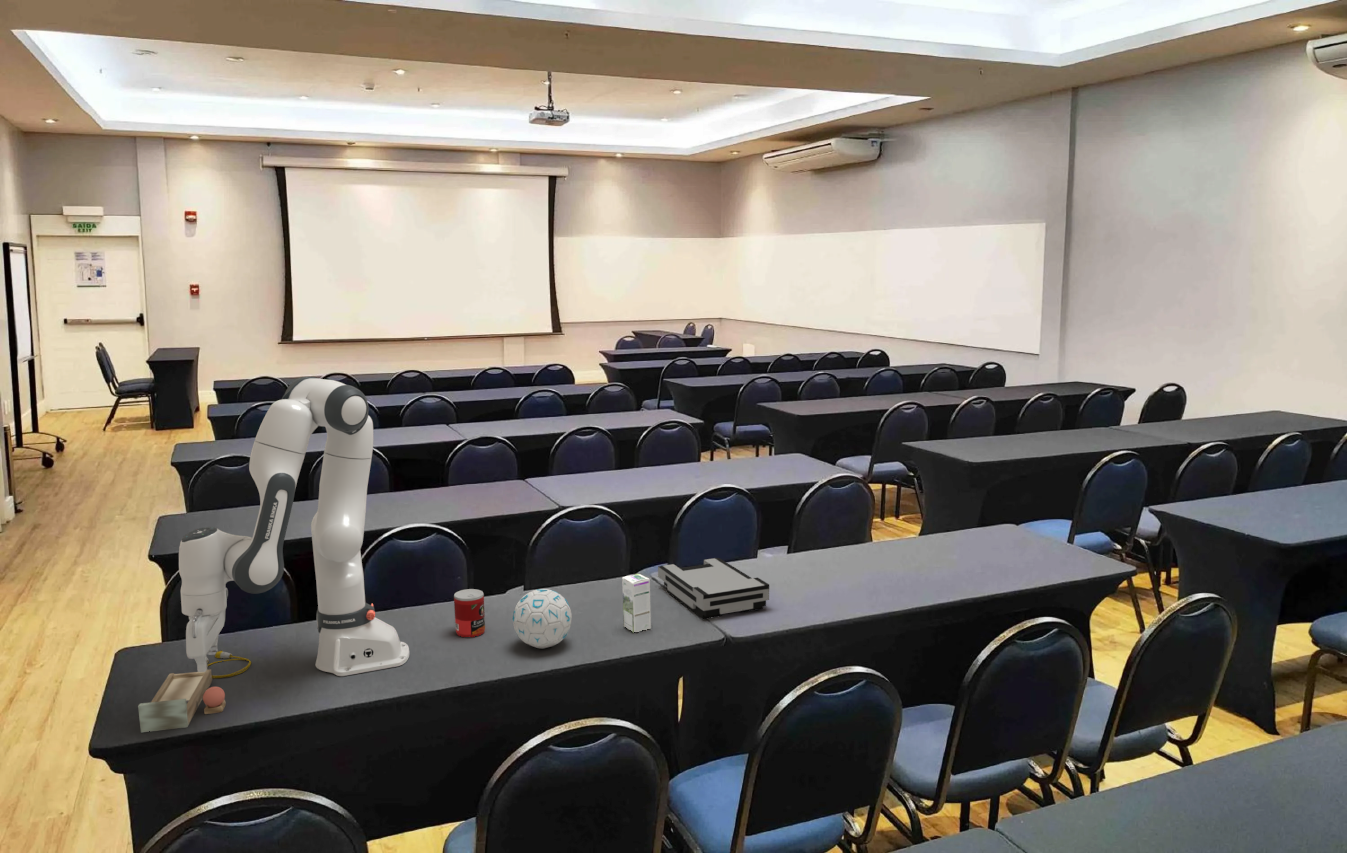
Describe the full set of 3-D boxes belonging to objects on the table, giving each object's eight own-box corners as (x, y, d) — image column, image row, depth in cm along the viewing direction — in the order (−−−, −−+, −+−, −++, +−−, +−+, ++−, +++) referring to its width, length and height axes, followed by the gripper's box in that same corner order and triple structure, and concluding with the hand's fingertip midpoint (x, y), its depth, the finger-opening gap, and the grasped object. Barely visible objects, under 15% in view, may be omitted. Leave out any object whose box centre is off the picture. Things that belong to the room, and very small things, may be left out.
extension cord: (251, 651, 242) (250, 644, 241) (251, 675, 228) (250, 667, 227) (198, 659, 237) (198, 652, 237) (195, 684, 223) (194, 676, 222)
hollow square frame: (225, 704, 211) (225, 699, 211) (222, 712, 208) (221, 707, 207) (208, 706, 210) (207, 701, 210) (204, 714, 207) (204, 709, 207)
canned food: (476, 639, 247) (474, 599, 246) (449, 636, 250) (447, 596, 248) (490, 629, 255) (489, 590, 253) (465, 625, 257) (463, 587, 255)
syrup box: (651, 629, 254) (651, 577, 251) (633, 634, 250) (632, 582, 248) (640, 622, 258) (639, 572, 256) (622, 627, 255) (621, 576, 253)
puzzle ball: (576, 653, 238) (574, 597, 235) (516, 660, 234) (514, 603, 232) (567, 631, 252) (566, 578, 250) (511, 637, 249) (509, 583, 246)
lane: (212, 681, 224) (210, 657, 223) (187, 727, 201) (184, 700, 200) (170, 685, 221) (168, 661, 220) (140, 732, 199) (138, 706, 198)
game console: (718, 578, 295) (718, 553, 294) (769, 612, 266) (769, 584, 265) (658, 588, 287) (657, 562, 286) (703, 623, 258) (703, 595, 257)
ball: (227, 700, 211) (225, 682, 211) (223, 709, 207) (221, 690, 207) (206, 702, 210) (204, 684, 210) (201, 711, 206) (199, 692, 205)
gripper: (209, 617, 195) (212, 680, 197) (229, 586, 215) (232, 643, 217) (175, 619, 194) (180, 682, 196) (199, 588, 213) (202, 645, 215)
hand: (207, 661), depth 207 cm, fingers open, 8 cm apart
